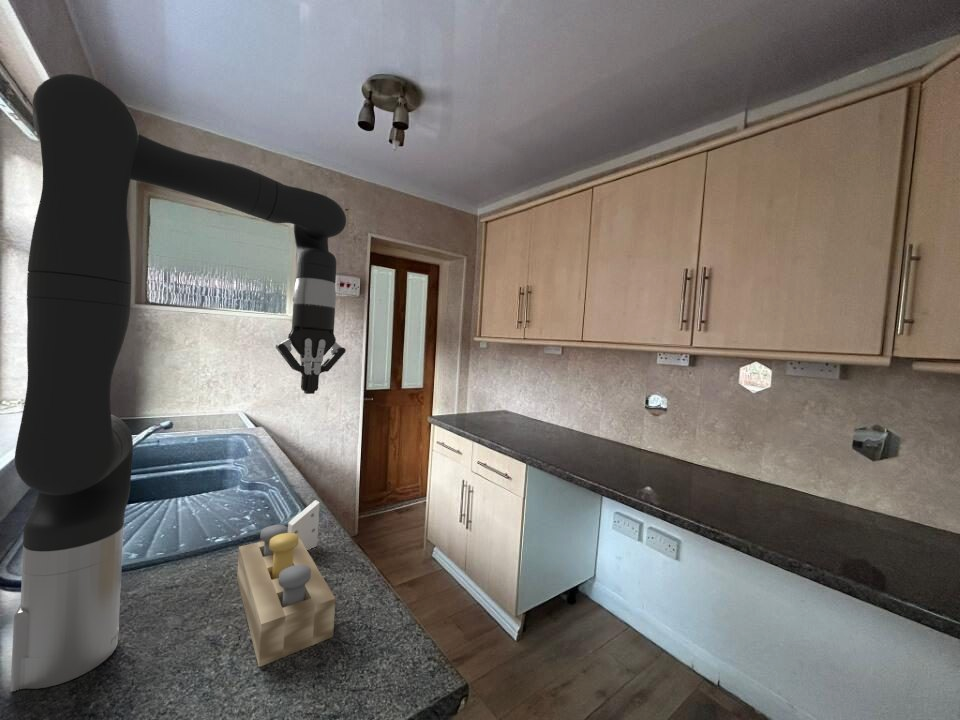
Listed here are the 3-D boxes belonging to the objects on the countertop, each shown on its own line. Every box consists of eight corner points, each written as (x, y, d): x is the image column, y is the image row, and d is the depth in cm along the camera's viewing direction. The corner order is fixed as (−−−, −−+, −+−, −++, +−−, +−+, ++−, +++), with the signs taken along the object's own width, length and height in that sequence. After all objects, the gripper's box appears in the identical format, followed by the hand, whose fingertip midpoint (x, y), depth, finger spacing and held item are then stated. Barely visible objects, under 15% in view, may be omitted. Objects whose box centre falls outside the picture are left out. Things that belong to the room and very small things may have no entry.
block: (258, 667, 52) (261, 624, 52) (237, 578, 71) (238, 546, 70) (333, 636, 58) (335, 598, 58) (295, 562, 77) (296, 533, 77)
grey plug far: (260, 588, 68) (262, 538, 67) (256, 575, 71) (258, 528, 71) (287, 580, 70) (289, 532, 70) (281, 568, 74) (284, 522, 74)
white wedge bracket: (335, 529, 86) (319, 502, 83) (296, 566, 80) (276, 538, 76) (327, 524, 89) (311, 497, 85) (288, 559, 82) (269, 532, 79)
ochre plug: (269, 603, 61) (272, 548, 61) (264, 588, 65) (267, 536, 65) (298, 593, 64) (301, 541, 64) (292, 580, 67) (295, 530, 67)
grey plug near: (278, 646, 55) (282, 585, 55) (272, 627, 58) (276, 570, 58) (310, 633, 58) (314, 575, 58) (303, 616, 61) (306, 561, 61)
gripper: (281, 298, 66) (275, 396, 67) (355, 308, 75) (349, 395, 75) (272, 301, 72) (267, 391, 73) (342, 309, 81) (337, 390, 81)
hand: (309, 393), depth 74 cm, fingers closed
